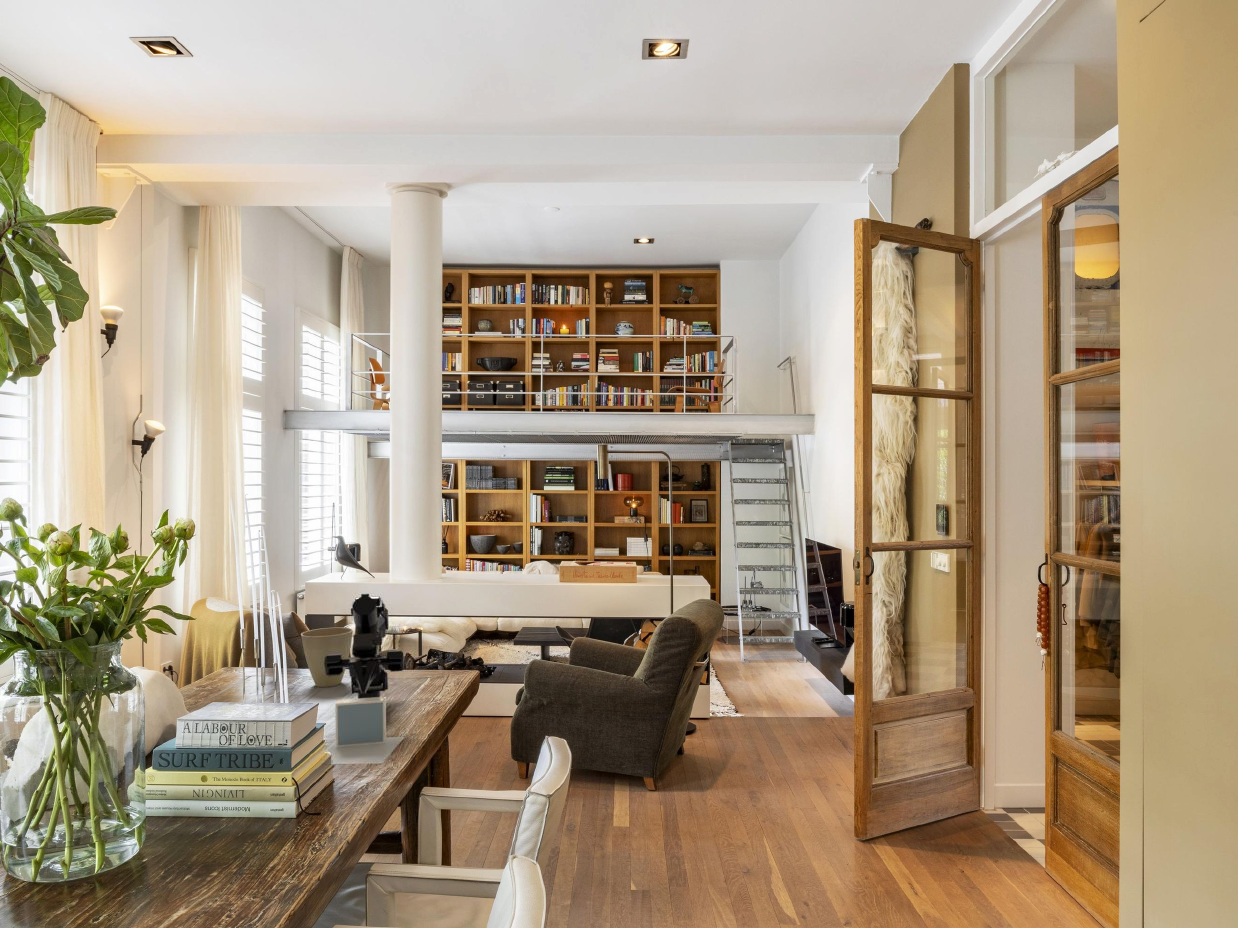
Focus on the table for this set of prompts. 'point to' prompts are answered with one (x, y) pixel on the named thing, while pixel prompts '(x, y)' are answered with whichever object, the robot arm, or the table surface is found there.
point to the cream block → (360, 721)
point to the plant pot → (325, 652)
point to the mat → (363, 752)
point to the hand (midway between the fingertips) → (363, 692)
